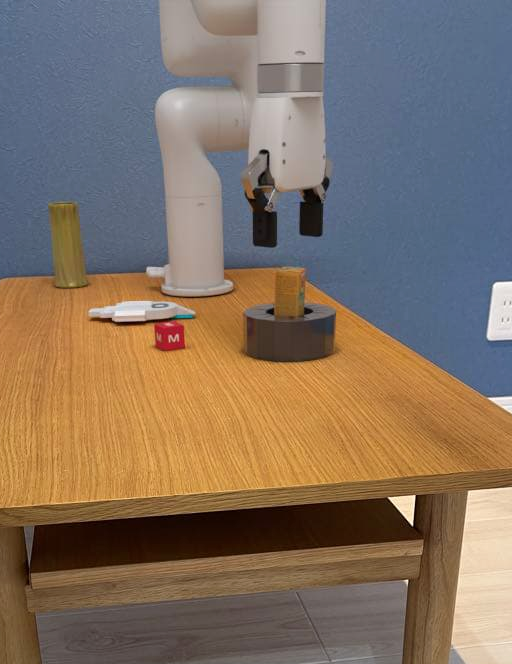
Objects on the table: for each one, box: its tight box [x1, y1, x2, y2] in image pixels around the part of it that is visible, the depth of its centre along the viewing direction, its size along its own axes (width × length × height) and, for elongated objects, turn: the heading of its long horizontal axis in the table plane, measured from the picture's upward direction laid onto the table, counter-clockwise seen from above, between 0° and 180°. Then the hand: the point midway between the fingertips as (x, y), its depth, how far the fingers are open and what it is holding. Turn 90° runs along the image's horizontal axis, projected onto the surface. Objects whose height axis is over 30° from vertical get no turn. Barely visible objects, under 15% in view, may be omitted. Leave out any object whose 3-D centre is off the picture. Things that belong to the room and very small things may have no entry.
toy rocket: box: [88, 300, 196, 323], centre depth 130 cm, size 16×10×2 cm, turn 88°
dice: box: [153, 320, 186, 352], centre depth 113 cm, size 3×3×3 cm
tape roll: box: [242, 301, 337, 363], centre depth 109 cm, size 12×12×5 cm
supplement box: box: [274, 265, 307, 316], centre depth 108 cm, size 3×3×10 cm
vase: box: [47, 201, 89, 289], centre depth 155 cm, size 6×6×14 cm
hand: (288, 241), depth 105 cm, fingers open, 9 cm apart
